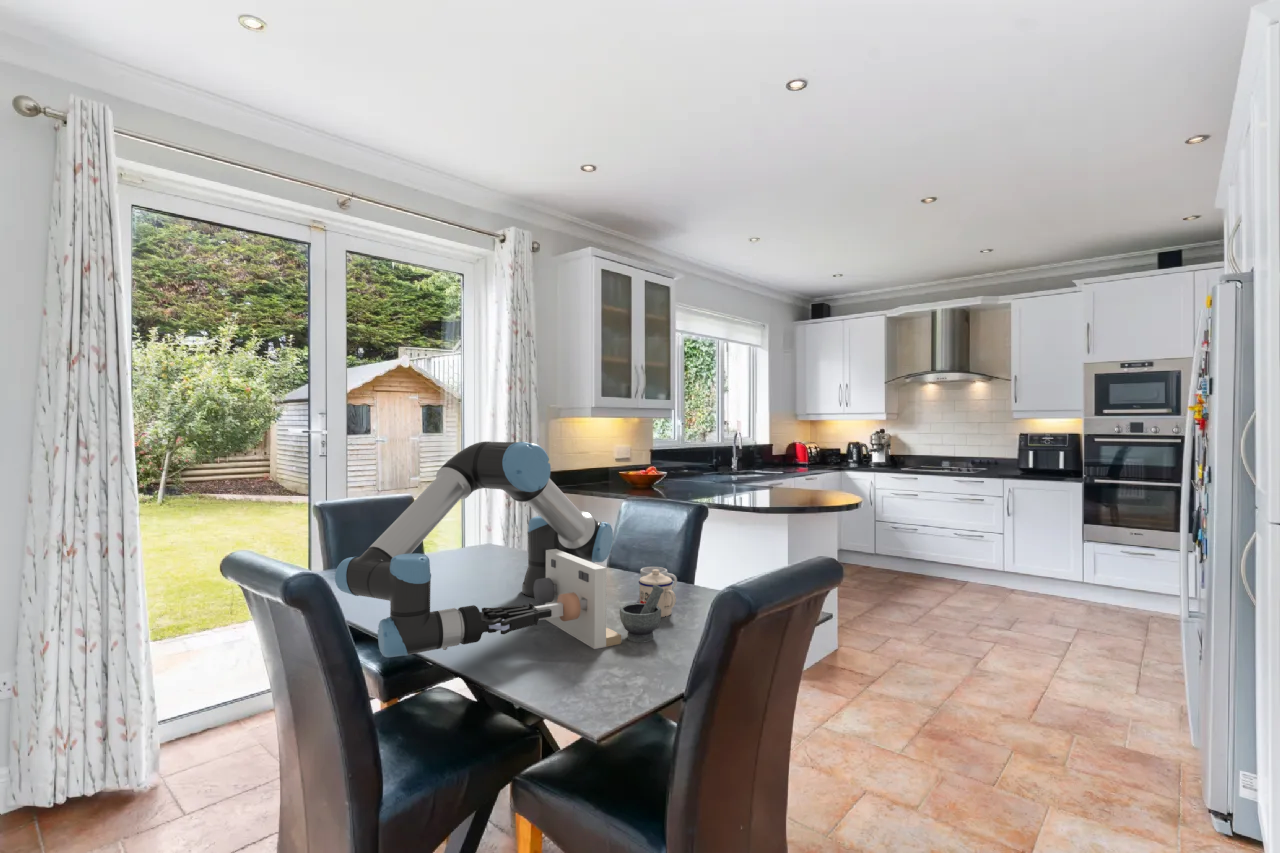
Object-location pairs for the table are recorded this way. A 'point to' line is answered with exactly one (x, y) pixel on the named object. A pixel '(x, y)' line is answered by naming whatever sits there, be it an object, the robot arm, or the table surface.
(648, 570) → the cup
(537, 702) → the table surface
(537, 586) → the charcoal button
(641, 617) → the mortar and pestle
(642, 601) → the teacup with lid
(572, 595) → the terracotta button
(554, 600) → the button panel
